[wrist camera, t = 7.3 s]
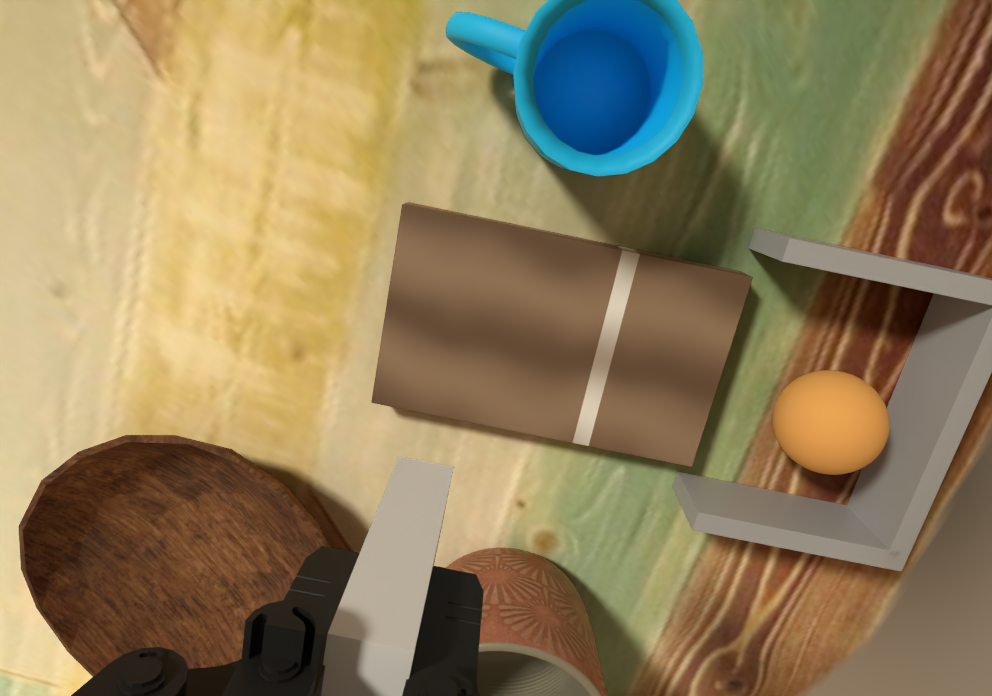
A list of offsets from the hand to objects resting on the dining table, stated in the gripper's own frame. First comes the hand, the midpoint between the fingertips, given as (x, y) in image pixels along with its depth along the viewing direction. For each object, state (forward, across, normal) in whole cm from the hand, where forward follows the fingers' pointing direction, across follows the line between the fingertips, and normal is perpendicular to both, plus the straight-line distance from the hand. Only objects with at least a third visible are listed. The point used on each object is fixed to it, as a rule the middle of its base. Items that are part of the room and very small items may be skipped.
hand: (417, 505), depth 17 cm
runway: (+23, +5, -1) cm, 23 cm away
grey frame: (+23, +21, -1) cm, 31 cm away
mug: (+23, +2, +13) cm, 27 cm away
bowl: (+23, -14, -21) cm, 34 cm away
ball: (+20, +22, -2) cm, 29 cm away
